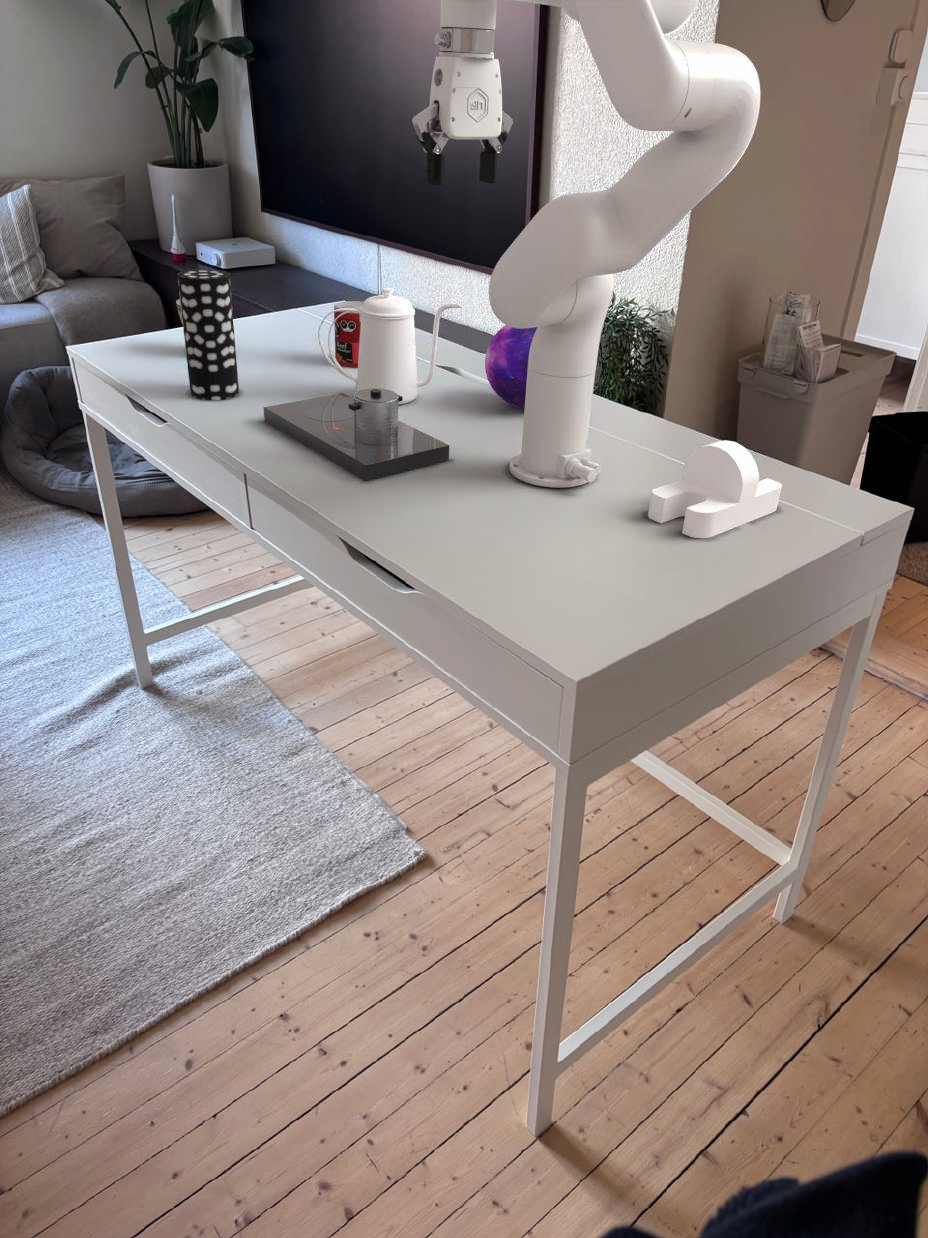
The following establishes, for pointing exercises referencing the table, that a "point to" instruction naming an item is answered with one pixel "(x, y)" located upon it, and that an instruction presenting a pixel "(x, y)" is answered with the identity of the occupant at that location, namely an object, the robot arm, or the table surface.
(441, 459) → the hot plate
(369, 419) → the pot
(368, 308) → the coffeepot
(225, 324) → the white-spotted black cylinder
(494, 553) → the table surface
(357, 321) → the canned food
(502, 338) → the decorative orb
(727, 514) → the slotted bracket
